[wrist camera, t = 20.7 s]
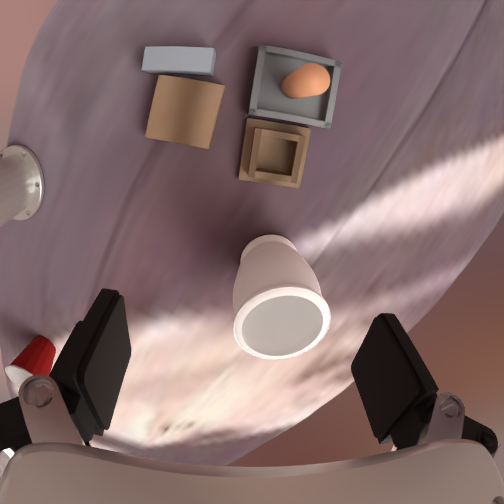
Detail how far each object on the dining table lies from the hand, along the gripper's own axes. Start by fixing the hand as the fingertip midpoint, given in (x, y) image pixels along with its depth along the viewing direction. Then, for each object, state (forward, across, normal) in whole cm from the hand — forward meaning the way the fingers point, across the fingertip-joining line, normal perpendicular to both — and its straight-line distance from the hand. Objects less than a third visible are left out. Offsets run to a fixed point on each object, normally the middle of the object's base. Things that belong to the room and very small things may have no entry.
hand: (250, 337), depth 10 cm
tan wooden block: (+31, +8, -7) cm, 32 cm away
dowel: (+30, -5, -12) cm, 32 cm away
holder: (+30, -4, -2) cm, 31 cm away
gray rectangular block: (+30, +9, -13) cm, 34 cm away
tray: (+30, -5, -12) cm, 33 cm away
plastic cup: (+31, +39, +41) cm, 64 cm away
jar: (+31, -6, +13) cm, 34 cm away
